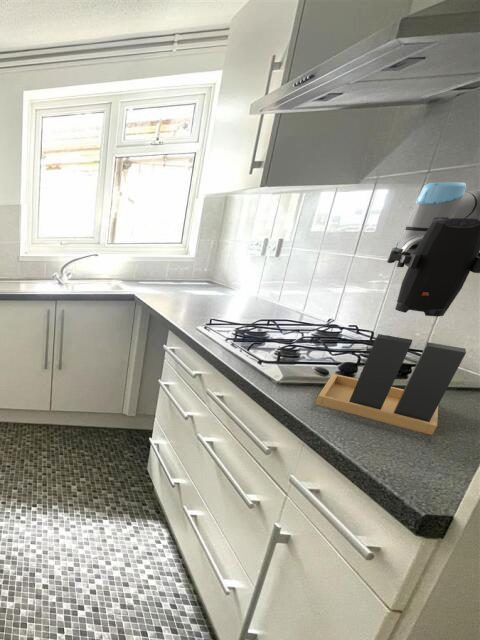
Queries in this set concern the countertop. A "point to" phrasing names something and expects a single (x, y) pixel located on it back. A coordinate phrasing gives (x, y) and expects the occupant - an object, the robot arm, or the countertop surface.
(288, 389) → the countertop surface
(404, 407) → the charcoal box
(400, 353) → the charcoal box
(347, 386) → the oak tray
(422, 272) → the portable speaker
